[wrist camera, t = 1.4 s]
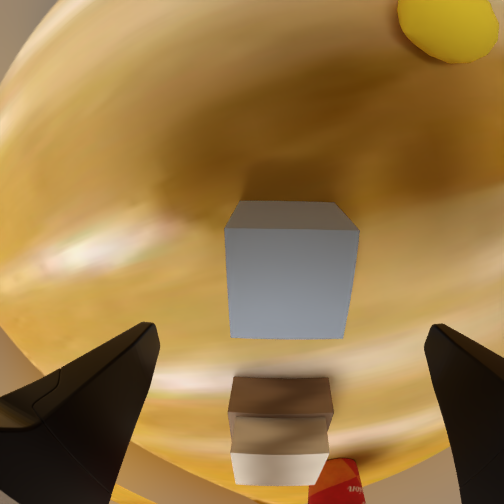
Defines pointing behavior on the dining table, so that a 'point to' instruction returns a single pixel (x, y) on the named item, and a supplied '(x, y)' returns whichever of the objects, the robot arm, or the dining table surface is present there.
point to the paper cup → (337, 484)
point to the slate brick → (289, 269)
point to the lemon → (450, 28)
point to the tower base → (280, 398)
